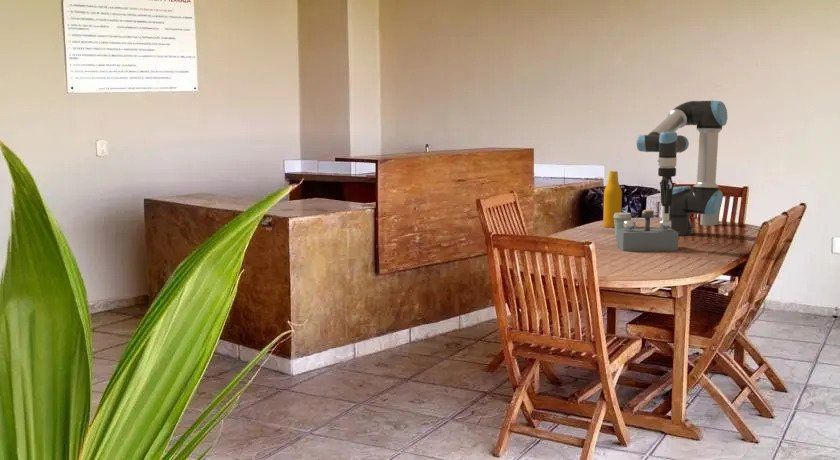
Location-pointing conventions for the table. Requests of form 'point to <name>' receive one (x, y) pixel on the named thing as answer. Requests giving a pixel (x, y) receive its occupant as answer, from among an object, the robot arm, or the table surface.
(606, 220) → the beer bottle
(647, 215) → the pot knob
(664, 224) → the knob
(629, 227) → the knob
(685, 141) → the robot arm
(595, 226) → the table surface
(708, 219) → the cup
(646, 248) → the console
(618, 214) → the coffee cup
